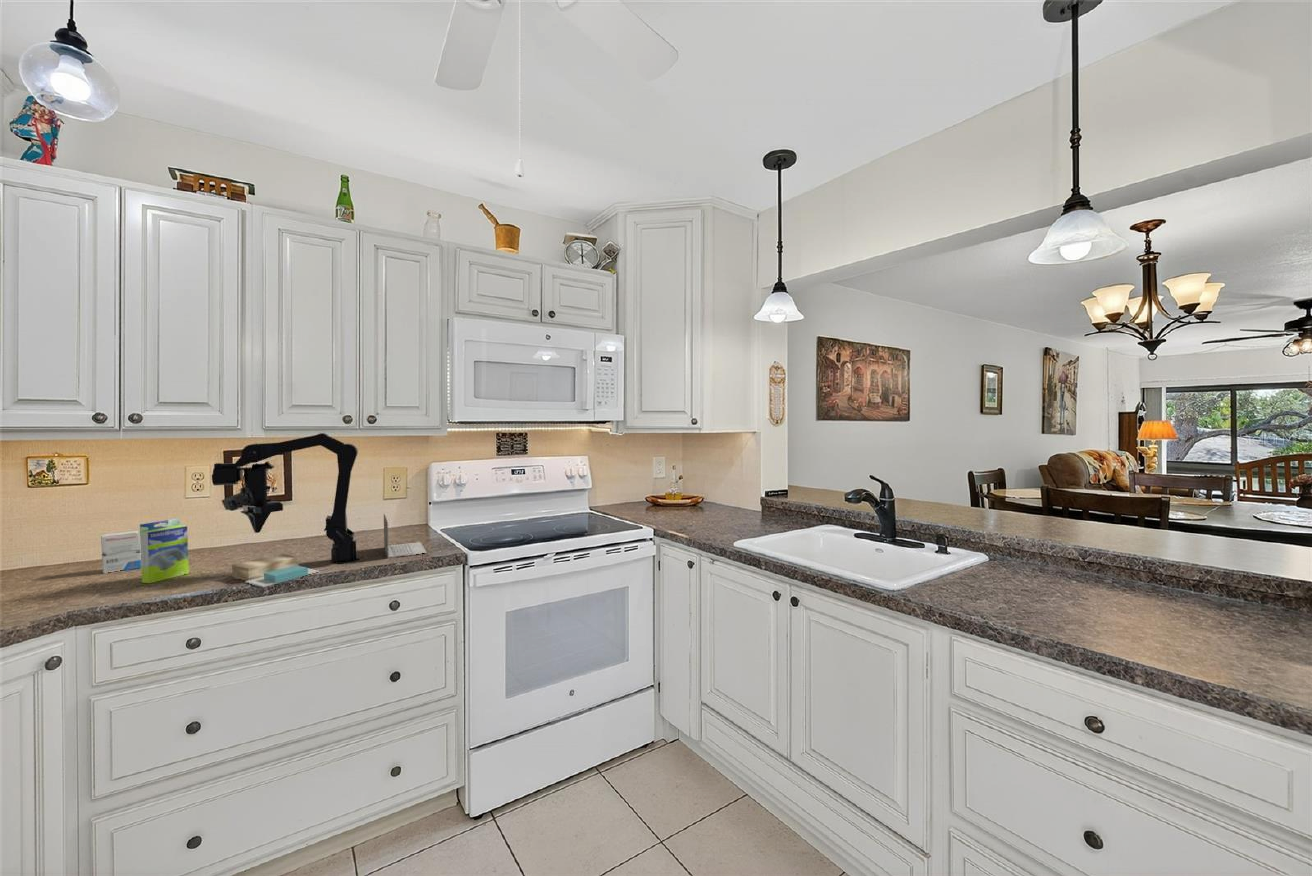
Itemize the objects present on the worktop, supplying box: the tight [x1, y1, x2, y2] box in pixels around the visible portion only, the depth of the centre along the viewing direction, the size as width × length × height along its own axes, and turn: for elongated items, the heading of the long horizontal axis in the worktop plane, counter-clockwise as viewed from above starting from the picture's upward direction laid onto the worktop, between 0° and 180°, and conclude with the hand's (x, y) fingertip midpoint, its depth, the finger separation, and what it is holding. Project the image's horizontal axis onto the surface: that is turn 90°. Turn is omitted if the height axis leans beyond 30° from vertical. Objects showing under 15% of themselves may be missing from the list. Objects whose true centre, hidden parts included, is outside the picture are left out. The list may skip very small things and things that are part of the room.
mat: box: [244, 567, 320, 588], centre depth 158 cm, size 16×9×1 cm, turn 153°
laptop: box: [383, 513, 427, 559], centre depth 190 cm, size 18×12×13 cm
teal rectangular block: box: [264, 565, 309, 583], centre depth 157 cm, size 9×6×2 cm, turn 153°
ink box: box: [100, 530, 142, 574], centre depth 167 cm, size 9×5×12 cm, turn 134°
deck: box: [231, 553, 300, 581], centre depth 162 cm, size 14×9×4 cm, turn 153°
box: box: [139, 517, 190, 584], centre depth 158 cm, size 10×4×17 cm, turn 163°
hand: (257, 532), depth 166 cm, fingers closed
